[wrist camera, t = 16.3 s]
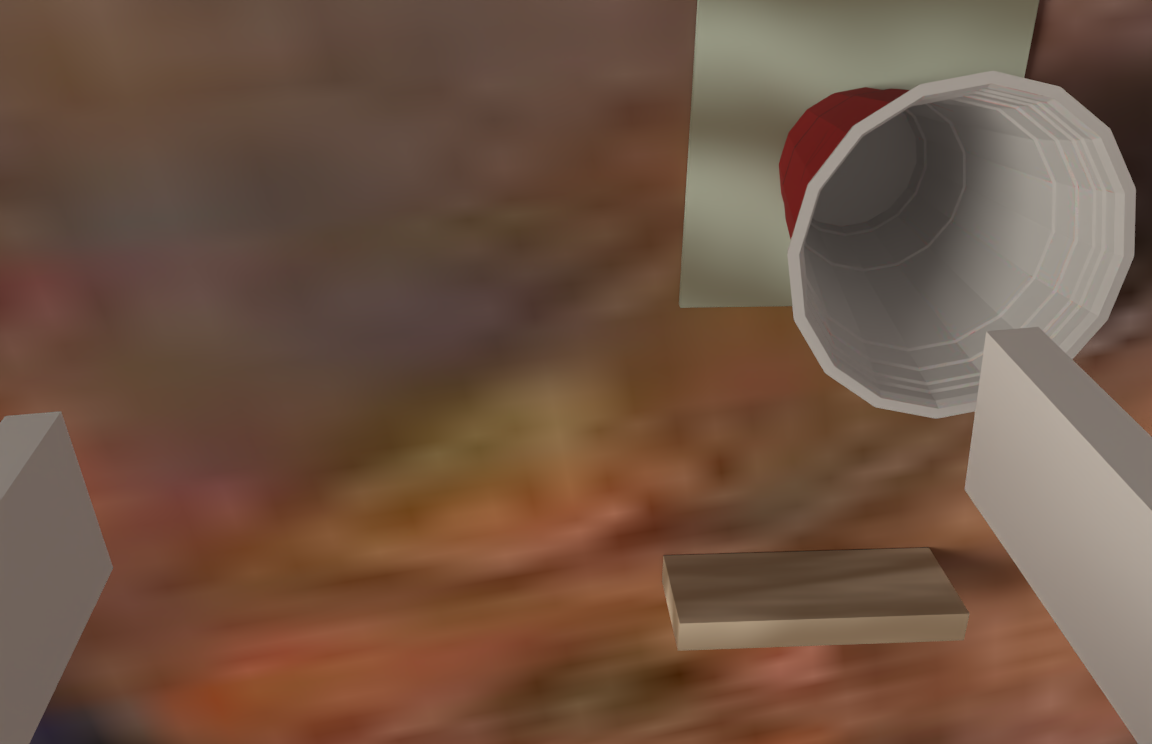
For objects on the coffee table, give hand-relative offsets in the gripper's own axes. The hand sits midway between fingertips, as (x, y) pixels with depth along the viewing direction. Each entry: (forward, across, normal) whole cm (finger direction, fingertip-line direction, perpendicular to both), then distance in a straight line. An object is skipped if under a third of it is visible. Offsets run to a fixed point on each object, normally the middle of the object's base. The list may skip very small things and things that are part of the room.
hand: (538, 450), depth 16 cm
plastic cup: (+28, +13, -5) cm, 32 cm away
